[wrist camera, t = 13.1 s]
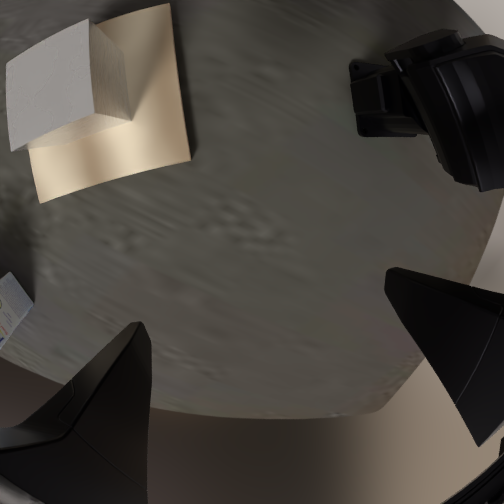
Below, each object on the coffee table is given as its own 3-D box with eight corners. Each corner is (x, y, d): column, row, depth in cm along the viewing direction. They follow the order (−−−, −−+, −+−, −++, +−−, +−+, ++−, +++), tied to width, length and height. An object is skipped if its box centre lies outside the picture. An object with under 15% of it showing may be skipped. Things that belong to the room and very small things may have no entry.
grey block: (123, 52, 14) (88, 18, 8) (132, 121, 16) (94, 112, 10) (58, 79, 14) (6, 63, 7) (65, 144, 16) (11, 151, 9)
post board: (170, 8, 14) (162, -23, 9) (191, 159, 19) (186, 165, 14) (29, 62, 13) (-4, 52, 8) (45, 200, 18) (13, 217, 13)
